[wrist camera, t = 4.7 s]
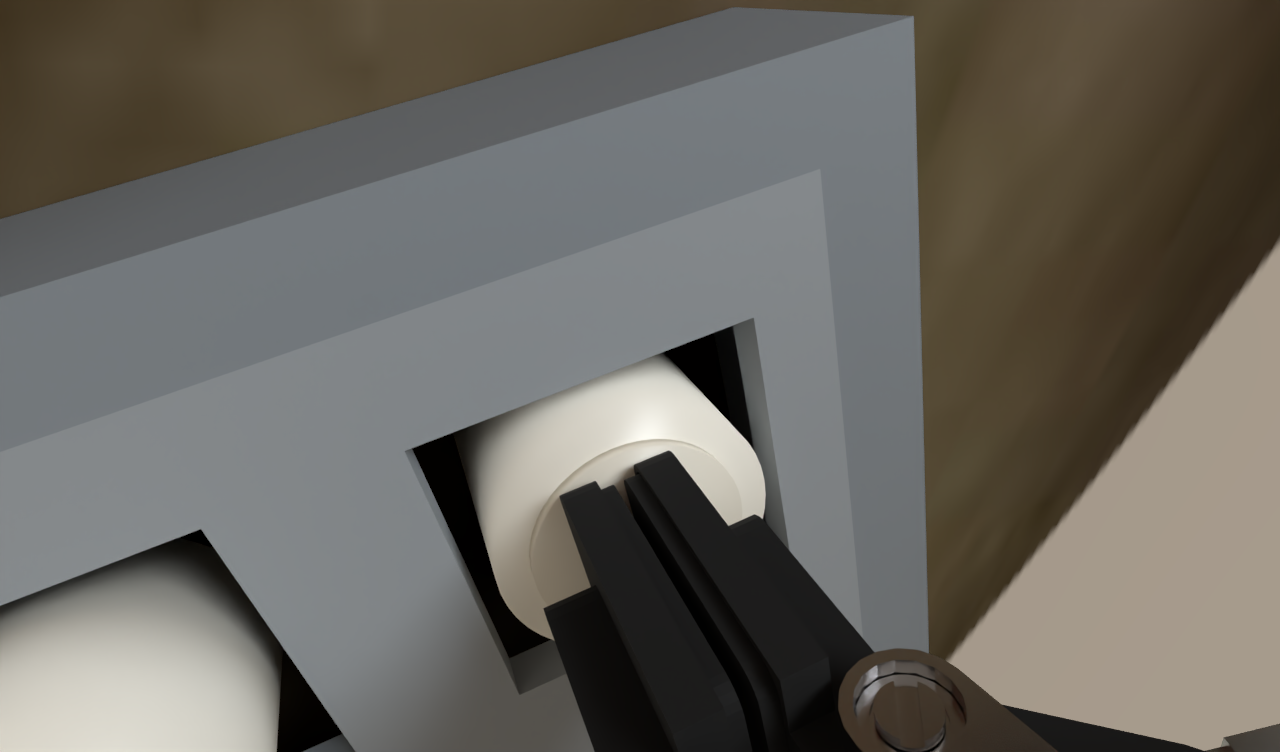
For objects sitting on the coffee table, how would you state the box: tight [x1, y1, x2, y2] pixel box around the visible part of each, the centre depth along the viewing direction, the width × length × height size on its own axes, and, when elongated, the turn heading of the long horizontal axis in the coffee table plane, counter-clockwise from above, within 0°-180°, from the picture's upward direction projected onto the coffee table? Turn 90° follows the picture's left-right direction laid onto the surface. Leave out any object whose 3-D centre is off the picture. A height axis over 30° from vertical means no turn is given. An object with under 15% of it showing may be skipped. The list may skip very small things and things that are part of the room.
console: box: [0, 7, 929, 752], centre depth 15 cm, size 18×20×5 cm
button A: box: [453, 352, 766, 641], centre depth 13 cm, size 4×4×5 cm
